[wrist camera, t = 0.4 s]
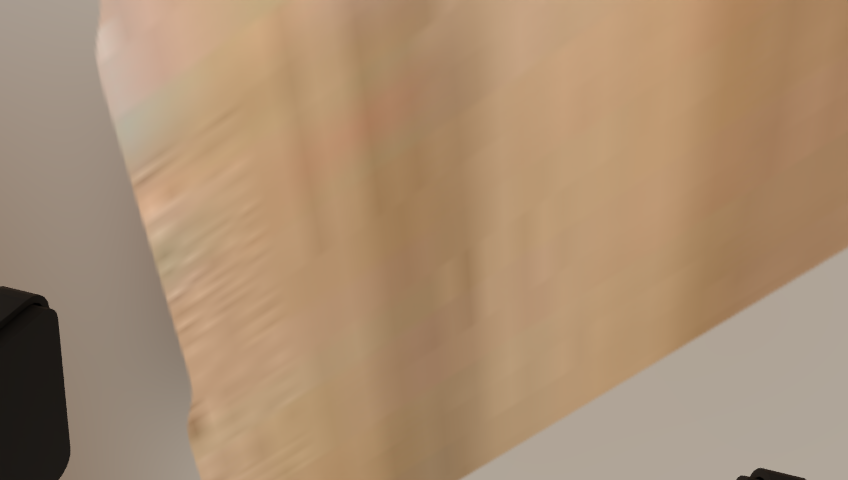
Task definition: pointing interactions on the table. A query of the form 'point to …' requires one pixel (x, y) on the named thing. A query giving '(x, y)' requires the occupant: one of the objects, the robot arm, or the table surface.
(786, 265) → the table surface
